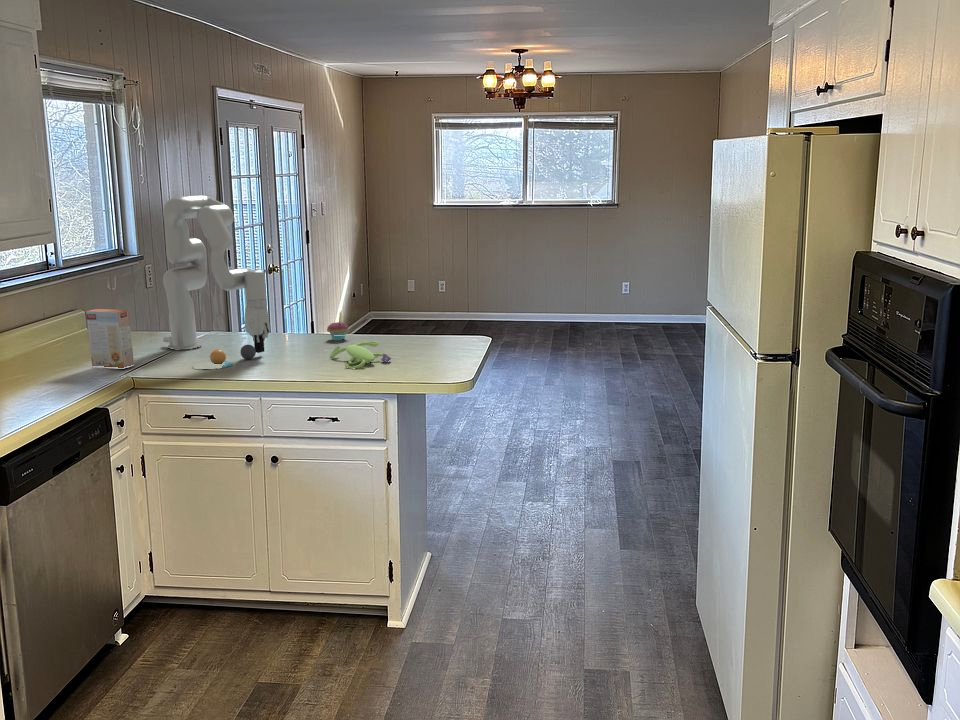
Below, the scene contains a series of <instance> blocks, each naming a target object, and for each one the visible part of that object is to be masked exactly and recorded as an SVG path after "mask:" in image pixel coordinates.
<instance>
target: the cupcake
mask: <svg viewBox="0 0 960 720" xmlns="http://www.w3.org/2000/svg"><path fill="white" fill-rule="evenodd" d="M326 331H327V332H328V333H329V334H330V335H331V339H332V340H333V341H336V342H338V341H343V340H342V339H344V340H345V339H346V335H347V332H348V331H349V326H348V325H347V324H346V323H344V322H342V311H340V312H339V317H338V322H335V321H334V322H332V323H330V324H328V325H327V328H326ZM334 335H345V336H334Z"/></svg>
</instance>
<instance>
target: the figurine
mask: <svg viewBox="0 0 960 720" xmlns="http://www.w3.org/2000/svg"><path fill="white" fill-rule="evenodd" d="M379 344H380V343H379V341H376V340H375V341H373V340H371V341H369V340H367V341H363V342H357V343H355V344H348V345H347V346H345V347H343V348H342V347H340V346H339V345H337V346H336V347H335V348H334V349H333V351H332V352H331V353H330V356H329V358H334V357H335V356H337V355H338V354H340V353H343V352H347V353H348V355H350V358H349V360H348V364H349V365H353V366H349V365H348V364H347V361H345V362H344V366H345V368H346V367H348V368H358V369H360V367H361V368H362V367H363V366H364V365H365V366H366V363H368V364H371V363H370V362H374V361H375V358H376V357H382V358H380V361H382V362H385V363H387V362H388V361H389V360H390V361H391V359H392V358H391V356H390V355H388V354H385V353H381V352H380V353H379V352H377V353H375V352H372V351H371V350H369V349H368V348H366V347H363V346H368V347H373V348H375V347H379ZM354 360H356V361H354ZM353 361H354V362H353ZM358 363H359V364H358ZM388 363H389V362H388ZM354 364H358V365H354ZM348 368H347V369H348Z"/></svg>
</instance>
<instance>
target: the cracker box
mask: <svg viewBox="0 0 960 720" xmlns="http://www.w3.org/2000/svg"><path fill="white" fill-rule="evenodd" d="M85 313H86V323H87V330H88V339H89V348H90V358H91V366H104V367H118V368H124V367H127V366H131V365H133V364H134V365H135V360H134V351H133V350H134V349H133V341H132V331H131V323H130V322H131V321H130V313H129V310H128V309H111V308H109V309H108V308H107V309H105V308H104V309H103V308H94V309H90V310H86V311H85Z"/></svg>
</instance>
